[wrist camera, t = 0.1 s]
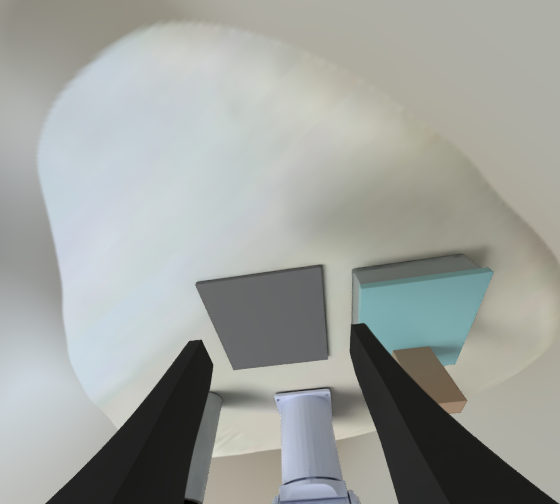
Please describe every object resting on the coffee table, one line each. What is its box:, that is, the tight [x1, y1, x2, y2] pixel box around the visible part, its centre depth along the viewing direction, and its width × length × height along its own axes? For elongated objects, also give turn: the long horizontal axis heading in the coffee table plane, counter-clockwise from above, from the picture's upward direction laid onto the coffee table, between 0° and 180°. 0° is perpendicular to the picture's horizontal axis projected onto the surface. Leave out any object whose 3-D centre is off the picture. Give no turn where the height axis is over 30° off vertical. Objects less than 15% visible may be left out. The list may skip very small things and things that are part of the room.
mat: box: [195, 265, 328, 370], centre depth 24 cm, size 14×12×1 cm
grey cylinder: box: [184, 392, 222, 504], centre depth 28 cm, size 4×4×10 cm
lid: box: [358, 267, 494, 414], centre depth 19 cm, size 12×10×6 cm
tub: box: [352, 254, 481, 324], centre depth 22 cm, size 12×10×2 cm
